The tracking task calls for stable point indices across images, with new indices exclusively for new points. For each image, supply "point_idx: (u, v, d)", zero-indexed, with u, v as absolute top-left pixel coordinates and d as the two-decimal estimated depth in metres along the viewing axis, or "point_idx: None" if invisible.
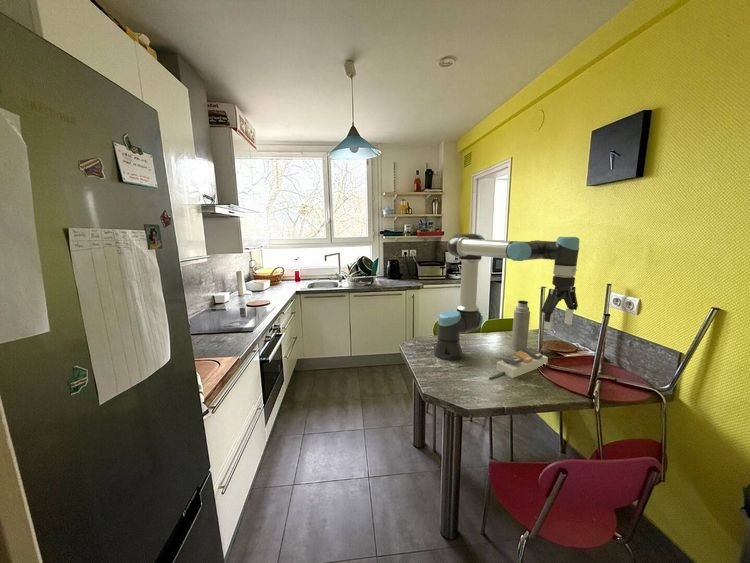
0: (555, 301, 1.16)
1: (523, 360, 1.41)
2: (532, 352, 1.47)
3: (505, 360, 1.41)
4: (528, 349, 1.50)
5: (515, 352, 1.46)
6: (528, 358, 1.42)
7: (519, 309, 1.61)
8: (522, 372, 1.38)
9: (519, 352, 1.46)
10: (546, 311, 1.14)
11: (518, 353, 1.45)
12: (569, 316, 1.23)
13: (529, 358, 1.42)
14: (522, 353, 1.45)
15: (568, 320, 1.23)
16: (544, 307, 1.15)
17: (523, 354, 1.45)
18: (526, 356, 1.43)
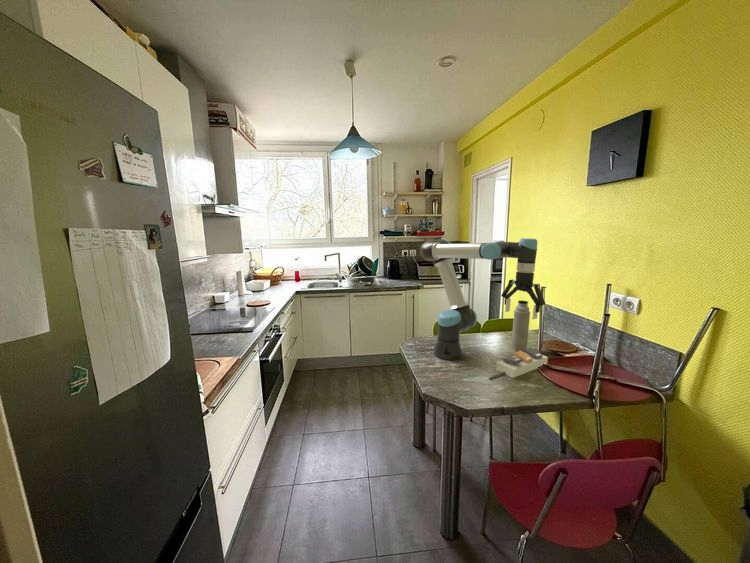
0: (512, 290, 1.43)
1: (523, 360, 1.41)
2: (532, 352, 1.47)
3: (505, 360, 1.41)
4: (528, 349, 1.50)
5: (515, 352, 1.46)
6: (528, 358, 1.42)
7: (519, 309, 1.61)
8: (522, 372, 1.38)
9: (519, 352, 1.46)
10: None
11: (518, 353, 1.45)
12: None
13: (529, 358, 1.42)
14: (522, 353, 1.45)
15: None
16: None
17: (523, 354, 1.45)
18: (526, 356, 1.43)
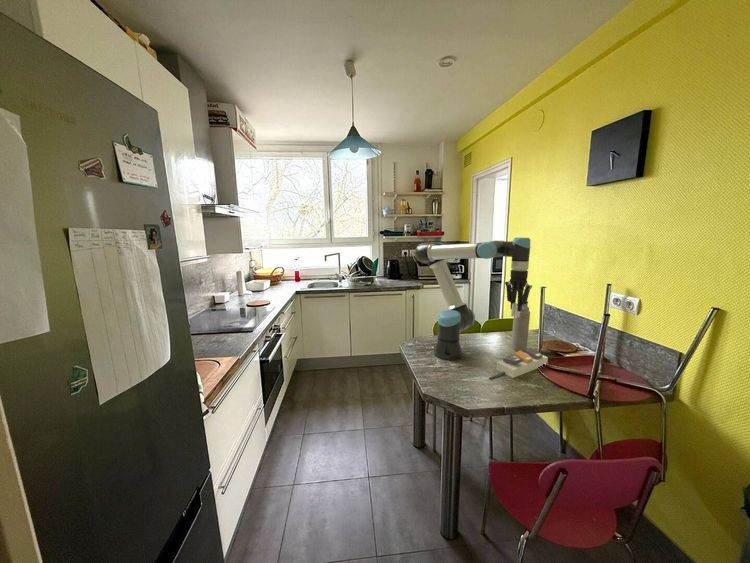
0: None
1: (523, 360, 1.41)
2: (532, 352, 1.47)
3: (505, 360, 1.41)
4: (528, 349, 1.50)
5: (515, 352, 1.46)
6: (528, 358, 1.42)
7: None
8: (522, 372, 1.38)
9: (519, 352, 1.46)
10: None
11: (518, 353, 1.45)
12: None
13: (529, 358, 1.42)
14: (522, 353, 1.45)
15: None
16: None
17: (523, 354, 1.45)
18: (526, 356, 1.43)
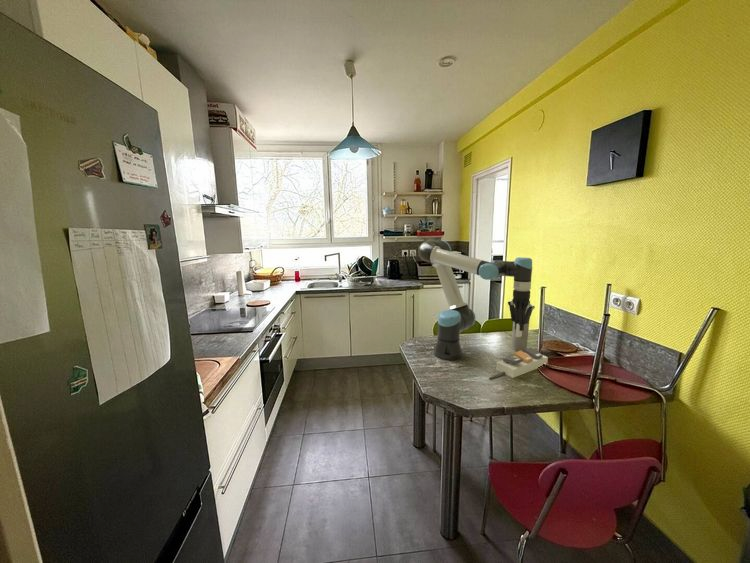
0: None
1: (523, 360, 1.41)
2: (532, 352, 1.47)
3: (505, 360, 1.41)
4: (528, 349, 1.50)
5: (515, 352, 1.46)
6: (528, 358, 1.42)
7: None
8: (522, 372, 1.38)
9: (519, 352, 1.46)
10: None
11: (518, 353, 1.45)
12: None
13: (529, 358, 1.42)
14: (522, 353, 1.45)
15: None
16: None
17: (523, 354, 1.45)
18: (526, 356, 1.43)
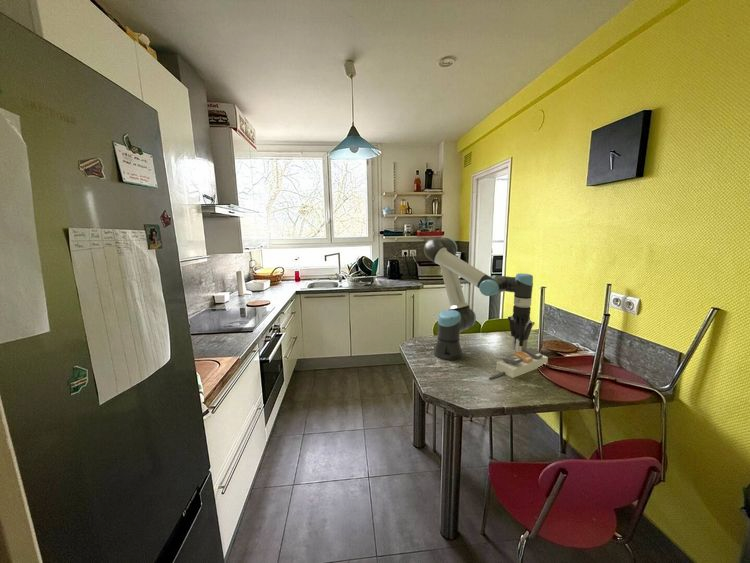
0: None
1: (523, 360, 1.41)
2: (532, 352, 1.47)
3: (505, 360, 1.41)
4: (528, 349, 1.50)
5: (515, 352, 1.46)
6: (528, 358, 1.42)
7: None
8: (522, 372, 1.38)
9: (519, 352, 1.46)
10: None
11: (518, 353, 1.45)
12: None
13: (529, 358, 1.42)
14: (522, 353, 1.45)
15: None
16: None
17: (523, 354, 1.45)
18: (526, 356, 1.43)
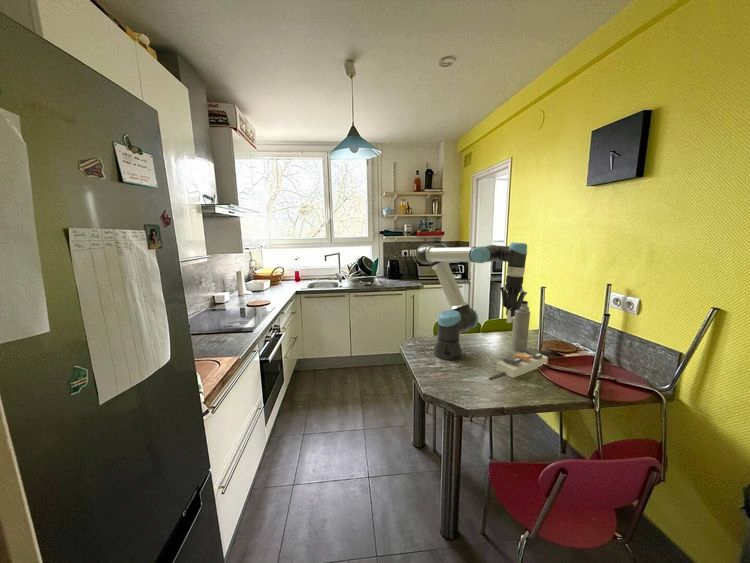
0: None
1: (523, 358, 1.41)
2: (532, 352, 1.47)
3: (505, 360, 1.41)
4: (528, 349, 1.50)
5: None
6: (527, 355, 1.42)
7: (519, 309, 1.61)
8: (522, 372, 1.38)
9: (518, 354, 1.47)
10: None
11: (517, 354, 1.46)
12: None
13: (528, 355, 1.42)
14: (521, 354, 1.46)
15: None
16: None
17: (523, 354, 1.45)
18: (525, 355, 1.44)
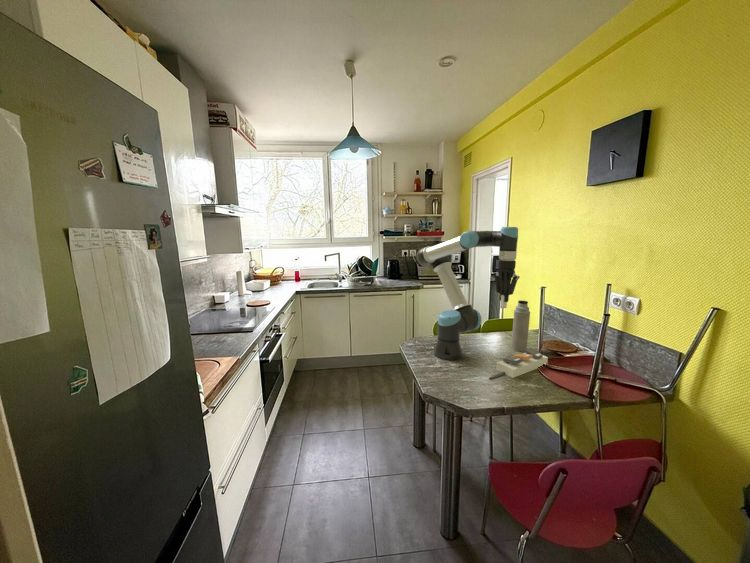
0: None
1: (523, 358, 1.41)
2: (532, 352, 1.47)
3: (505, 360, 1.41)
4: (528, 349, 1.50)
5: (514, 355, 1.46)
6: (527, 355, 1.42)
7: (519, 309, 1.61)
8: (522, 372, 1.38)
9: (518, 354, 1.47)
10: None
11: (517, 355, 1.46)
12: None
13: (528, 355, 1.42)
14: (521, 354, 1.46)
15: None
16: None
17: (522, 354, 1.45)
18: (525, 355, 1.44)
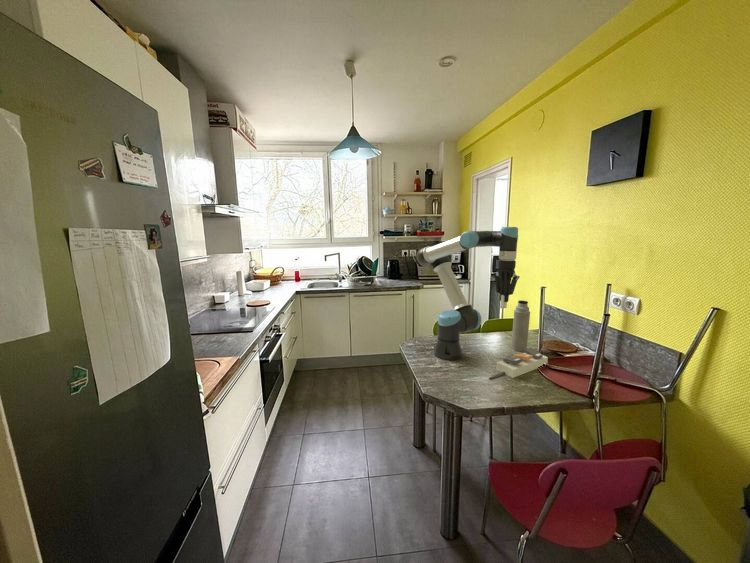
0: None
1: (523, 358, 1.41)
2: (532, 352, 1.47)
3: (505, 360, 1.41)
4: (528, 349, 1.50)
5: None
6: (527, 355, 1.42)
7: (519, 309, 1.61)
8: (522, 372, 1.38)
9: (518, 354, 1.47)
10: None
11: (517, 355, 1.46)
12: None
13: (528, 355, 1.42)
14: (521, 354, 1.46)
15: None
16: None
17: (522, 354, 1.45)
18: (525, 355, 1.44)
